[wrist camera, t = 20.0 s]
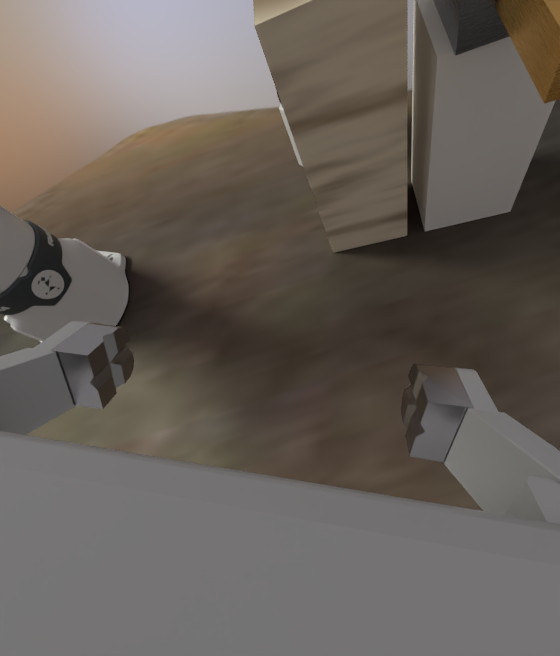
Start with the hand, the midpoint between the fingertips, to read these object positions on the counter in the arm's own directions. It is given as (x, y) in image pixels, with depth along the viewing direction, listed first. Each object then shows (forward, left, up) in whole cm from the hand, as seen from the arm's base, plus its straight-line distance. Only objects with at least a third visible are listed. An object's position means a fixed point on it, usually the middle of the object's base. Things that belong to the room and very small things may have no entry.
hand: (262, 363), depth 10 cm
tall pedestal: (-11, +25, -29) cm, 40 cm away
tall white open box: (-2, +30, -29) cm, 42 cm away
